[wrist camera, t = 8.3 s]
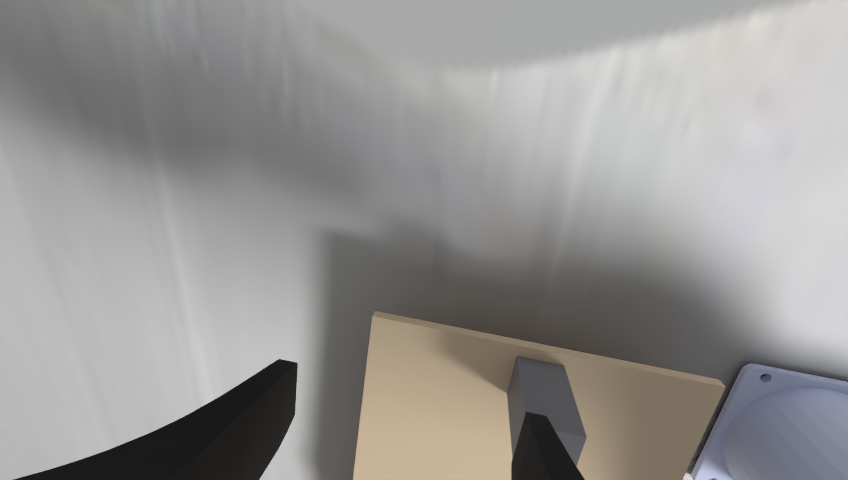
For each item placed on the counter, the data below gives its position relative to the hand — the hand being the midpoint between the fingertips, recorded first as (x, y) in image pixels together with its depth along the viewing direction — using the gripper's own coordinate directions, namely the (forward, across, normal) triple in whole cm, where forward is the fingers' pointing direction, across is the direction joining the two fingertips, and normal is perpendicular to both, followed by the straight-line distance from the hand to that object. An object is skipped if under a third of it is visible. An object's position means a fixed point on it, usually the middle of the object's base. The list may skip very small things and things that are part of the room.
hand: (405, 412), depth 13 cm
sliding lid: (+6, -5, +8) cm, 11 cm away
